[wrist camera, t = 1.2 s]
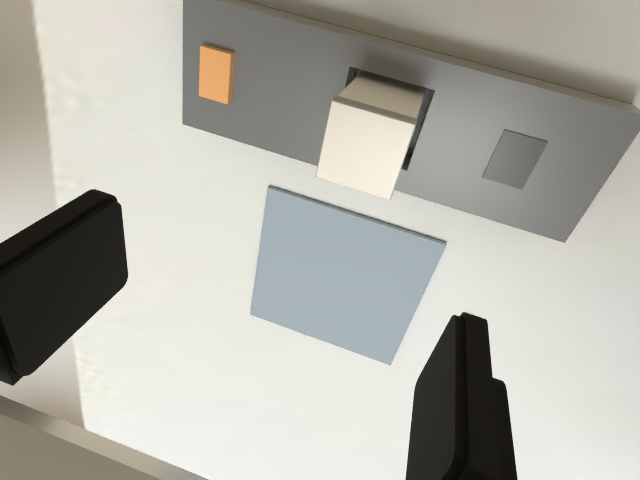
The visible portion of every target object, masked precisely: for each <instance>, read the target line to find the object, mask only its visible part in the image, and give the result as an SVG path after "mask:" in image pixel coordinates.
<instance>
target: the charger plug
mask: <svg viewBox="0 0 640 480" xmlns="http://www.w3.org/2000/svg"><path fill="white" fill-rule="evenodd" d="M425 90H426V88H425V87H421V86H418V85H414V84H411V83H407V82H403V81H400V80H396V79H393V78H389V77H385V76H382V75H378V74H375V73H371V72H367V71H364V70H363V71H362V72H361V73H360V74H359V75H358V76H357V77H356V78H355V79H354V80H353V81H352V82H351V83H350V84H349V85H348V86H347V87H346V88H345V89H344V90H343V91H342V92H341V93H340V94H339V95H338V96H337V95H336V96H335V97H334V98H333V99H332V101H331V105H330V110H329V115H328V120H327V124H326V129H325V134H324V139H323V143H322V148H321V153H320V157H319V162H318V167H317V172H316V176H315V177H319V178H322V179H325V180H328V181H331V182H334V183H338V184H341V185H344V186H347V187H350V188H354V189H357V190H360V191H363V192H366V193H369V194H373V195H376V196H379V197H382V198H385V199H389V200H391V197H392V194H393V191H394V188H395V185H396V182H397V180H398V177H399V174H400V171H401V168H402V165H403V162H404V159H405V156H406V153H407V150H408V147H409V144H410V141H411V138H412V136H413V133H414V130H415V127H416V124H417V120H418V119H417V117H418V113H419V110H420V107H421V103H422V100H423V97H424V94H425Z"/></svg>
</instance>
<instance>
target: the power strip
mask: <svg viewBox="0 0 640 480" xmlns="http://www.w3.org/2000/svg"><path fill="white" fill-rule="evenodd" d="M356 68H357V69H360V70H364V71H367V72H371V73H375V74H378V75H382V76H385V77H389V78H393V79H396V80H400V81H403V82H407V83H411V84H414V85H418V86H421V87H425V88H429V89H432V90H434V92H433V95H432V98H431V101H430V103H429V106H428V109H427V112H426V115H425V118H424V121H423V123H422V126H421V129H420V132H419V135H418V138H417V141H416V144H415V146H414V149H413V152H412V155H411V156H408V155H406V156H405V159H404V162H403V165H402V168H401V171H400V174H399V177H398V180H397V182H396V185H395V188H394V190H397V191H400V192H403V193H406V194H409V195H413V196H416V197H419V198H422V199H426V200H429V201H432V202H435V203H438V204H442V205H445V206H448V207H451V208H455V209H458V210H461V211H464V212H467V213H471V214H474V215H477V216H480V217H483V218H487V219H490V220H493V221H496V222H500V223H503V224H506V225H509V226H512V227H516V228H519V229H522V230H525V231H529V232H532V233H535V234H538V235H541V236H545V237H548V238H551V239H554V240H557V241H561V242H564V243H565V242H566V240H567V239H568V237H569V236H570V234H571V233H572V231H573V230H574V228H575V227H576V225H577V224H578V222H579V221H580V219H581V218H582V216H583V215H584V213H585V212H586V210H587V209H588V207H589V206H590V204H591V203H592V201H593V200H594V198H595V197H596V195H597V194H598V192H599V191H600V189H601V188H602V186H603V185H604V183H605V182H606V180H607V179H608V177H609V176H610V174H611V173H612V171H613V170H614V168H615V167H616V165H617V164H618V162H619V161H620V159H621V158H622V156H623V155H624V153H625V152H626V150H627V149H628V147H629V146H630V144H631V143H632V141H633V140H634V138H635V137H636V135H637V134H638V132H639V131H640V110H639V109H638V108H636V107H635V106H634V105H632V104H629V103H625V102H621V101H618V100H614V99H610V98H606V97H603V96H599V95H595V94H591V93H588V92H584V91H580V90H576V89H573V88H569V87H565V86H561V85H558V84H554V83H550V82H546V81H543V80H539V79H535V78H531V77H528V76H524V75H520V74H516V73H513V72H509V71H505V70H501V69H498V68H494V67H490V66H486V65H483V64H479V63H475V62H471V61H468V60H464V59H460V58H456V57H453V56H449V55H445V54H441V53H438V52H434V51H430V50H426V49H423V48H419V47H415V46H411V45H408V44H404V43H400V42H396V41H393V40H389V39H385V38H381V37H378V36H374V35H370V34H366V33H363V32H359V31H355V30H351V29H348V28H344V27H340V26H336V25H333V24H329V23H325V22H321V21H318V20H314V19H310V18H306V17H303V16H299V15H295V14H291V13H288V12H284V11H280V10H276V9H273V8H269V7H265V6H261V5H258V4H254V3H250V2H246V1H243V0H183V124H184V125H187V126H191V127H194V128H197V129H200V130H204V131H207V132H210V133H213V134H216V135H220V136H223V137H226V138H229V139H233V140H236V141H239V142H242V143H245V144H249V145H252V146H255V147H258V148H261V149H265V150H268V151H271V152H274V153H278V154H281V155H284V156H287V157H290V158H294V159H297V160H300V161H303V162H307V163H310V164H313V165H316V166H318V162H319V157H320V153H321V148H322V143H323V139H324V134H325V129H326V124H327V120H328V115H329V110H330V105H331V101H332V99H333V98H334V97H335V96H336V95H337V96H338V95H339V94H340V93H341V92H342V91H343V90H344V89H345V88H346V87H347V86H348V85H349V84H350V83H351V82H352V81H353V80H354V76H355V71H356Z"/></svg>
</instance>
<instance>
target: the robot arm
mask: <svg viewBox="0 0 640 480" xmlns="http://www.w3.org/2000/svg"><path fill="white" fill-rule="evenodd" d="M127 279H128V269H127V259H126V249H125V239H124V229H123V219H122V209H121V205H120V203H118V202H117V199H116V197H115V196H113V195H111V194H108V193H105V192H102V191H99V190H96V189H92V190H89V191H87V192H86V193H84V194H82V195H81V196H79V197H77V198H76V199H74V200H72V201H71V202H69V203H67V204H66V205H64V206H62V207H61V208H59V209H57V210H56V211H54V212H52V213H51V214H49V215H47V216H45V217H44V218H42V219H40V220H39V221H37V222H35V223H34V224H32V225H30V226H29V227H27V228H26V229H24V230H22V231H20V232H19V233H17V234H15V235H14V236H12V237H10V238H9V239H7V240H5V241H4V242H2V243H0V381H3V382H5V383H8V384H10V385H12V386H13V385H14V384H15V383H17V381H19V379H21V378H22V377H23V376H27V375H30V374H31V373H33V372H34V371H35V370H36V369H37V368H38V367H39V366H41V365H42V364H43V363H44V362H45V361H46V360H47V359H48V358H49V357H50V356H51V355H52V354H53V353H54V352H55V351H56V350H57V349H58V348H60V347H61V346H62V344H64V343H65V342H66V341H67V340H68V339H69V338H70V337H71V336H72V335H73V334H74V333H75V332H76V331H77V330H78V329H80V328H81V327H82V326H83V325H84V324H85V323H86V322H87V321H88V320H89V319H90V318H91V317H92V316H93V315H94V314H95V313H96V312H97V311H99V310H100V309H101V308H102V307H103V306H104V305H105V304H106V303H107V302H108V301H109V300H110V299H111V298H112V297H113V296H114V295H115V294H116V293H117V292H119V291H120V290H121V289H122V288H123V287H124V285H125V284H126V282H127ZM0 480H208V479H206V478H203V477H201V476H199V475H196V474H194V473H191V472H189V471H186V470H184V469H181V468H179V467H176V466H174V465H172V464H169V463H167V462H164V461H162V460H159V459H157V458H154V457H152V456H149V455H147V454H144V453H142V452H140V451H137V450H135V449H132V448H130V447H127V446H125V445H122V444H120V443H117V442H115V441H112V440H110V439H107V438H105V437H103V436H100V435H98V434H95V433H93V432H90V431H88V430H85V429H83V428H80V427H78V426H75V425H73V424H70V423H68V422H65V421H63V420H60V419H58V418H55V417H52V416H50V415H48V414H45V413H43V412H40V411H38V410H35V409H33V408H30V407H28V406H25V405H23V404H20V403H17V402H15V401H13V400H10V399H8V398H5V397H3V396H0ZM406 480H517V472H516V464H515V455H514V447H513V439H512V431H511V422H510V414H509V406H508V398H507V390H506V386H505V384H504V382H503V381H501V380H498V379H495V378H492V367H491V356H490V345H489V333H488V323H487V320H486V319H483V318H480V317H477V316H474V315H471V314H468V313H465V312H463V313H462V314H461V315H460V317H459V316H456V315H453V316H452V317H451V319H450V321H449V323H448V324H447V326H446V328H445V330H444V332H443V334H442V335H441V337H440V339H439V341H438V343H437V345H436V347H435V348H434V350H433V352H432V354H431V356H430V358H429V359H428V361H427V363H426V365H425V367H424V369H423V370H422V372H421V374H420V376H419V378H418V380H417V383H416V386H415V391H414V401H413V411H412V421H411V431H410V441H409V451H408V461H407V471H406Z"/></svg>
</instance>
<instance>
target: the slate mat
mask: <svg viewBox="0 0 640 480" xmlns="http://www.w3.org/2000/svg"><path fill="white" fill-rule="evenodd" d="M445 247H446V242H444V241H440V240H437V239H434V238H431V237H428V236H425V235H422V234H419V233H416V232H412V231H409V230H406V229H403V228H400V227H397V226H394V225H391V224H388V223H384V222H381V221H378V220H375V219H372V218H369V217H366V216H363V215H360V214H356V213H353V212H350V211H347V210H344V209H341V208H338V207H335V206H332V205H328V204H325V203H322V202H319V201H316V200H313V199H310V198H307V197H304V196H300V195H297V194H294V193H291V192H288V191H285V190H282V189H279V188H276V187H272V186H269V187H268V190H267V197H266V204H265V211H264V219H263V226H262V233H261V240H260V247H259V254H258V262H257V269H256V276H255V283H254V290H253V298H252V305H251V312H250V314H251V315H253V316H256V317H259V318H262V319H264V320H267V321H270V322H273V323H275V324H278V325H281V326H284V327H286V328H289V329H292V330H295V331H297V332H300V333H303V334H306V335H308V336H311V337H314V338H317V339H319V340H322V341H325V342H328V343H330V344H333V345H336V346H339V347H341V348H344V349H347V350H350V351H352V352H355V353H358V354H361V355H363V356H366V357H369V358H372V359H374V360H377V361H380V362H383V363H385V364H388V365H391V363H392V361H393V359H394V357H395V354H396V352H397V350H398V348H399V346H400V344H401V342H402V339H403V337H404V335H405V333H406V331H407V329H408V326H409V324H410V322H411V320H412V318H413V316H414V314H415V311H416V309H417V307H418V305H419V303H420V301H421V299H422V296H423V294H424V292H425V290H426V288H427V286H428V283H429V281H430V279H431V277H432V275H433V273H434V271H435V268H436V266H437V264H438V262H439V260H440V258H441V255H442V253H443V251H444V249H445Z"/></svg>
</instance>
